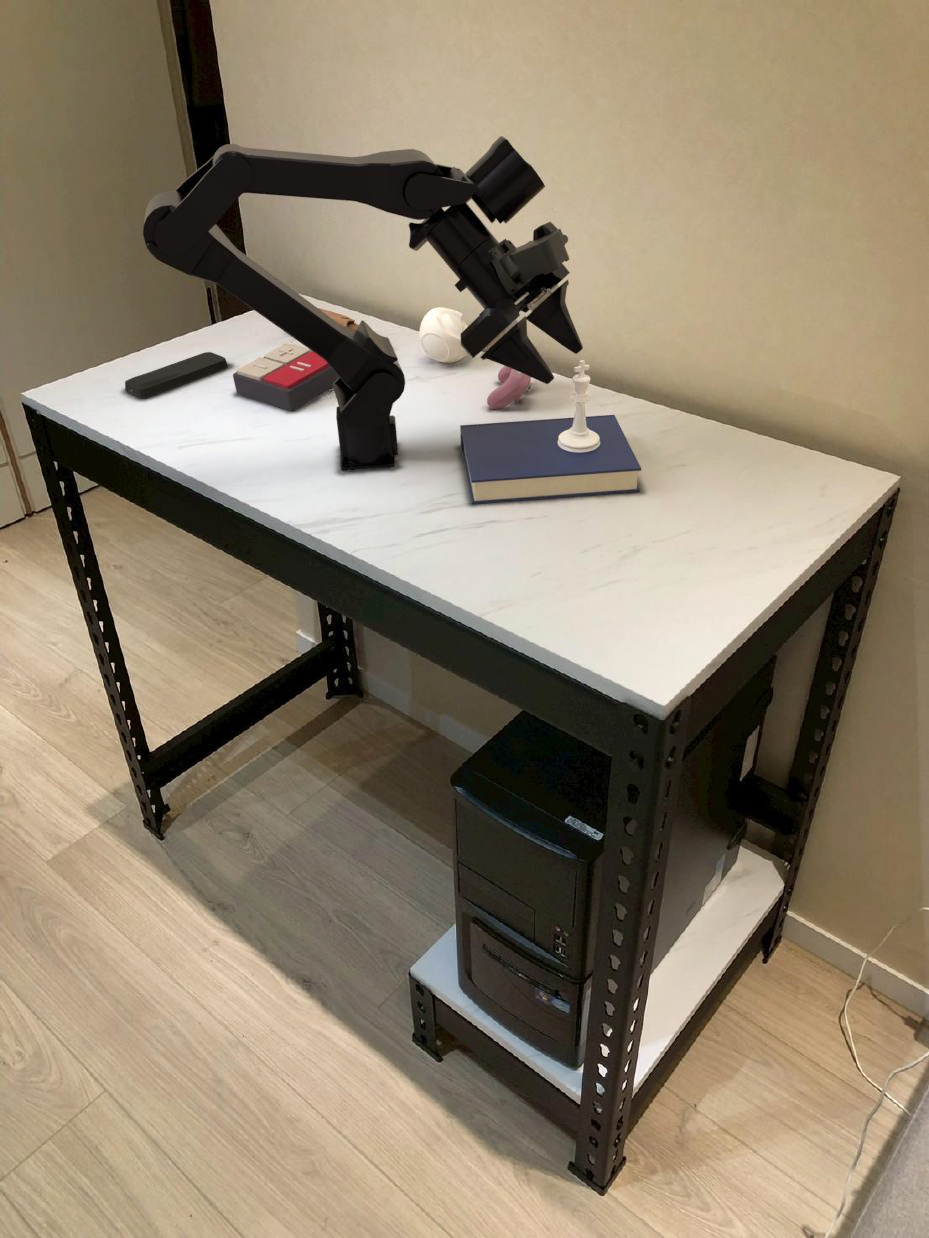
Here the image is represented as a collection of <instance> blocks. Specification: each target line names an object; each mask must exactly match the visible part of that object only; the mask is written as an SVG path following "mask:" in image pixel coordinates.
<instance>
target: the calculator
mask: <svg viewBox="0 0 929 1238" xmlns="http://www.w3.org/2000/svg"><path fill="white" fill-rule="evenodd" d="M232 377H233V383H234V387H235V391H236V394H237V395H240V396H243V397H245V398H248V399H252V400H255V401H258V402H262V403H264V404H268V405H271V406H274V407H277V408H280V409H283V410H287V411H290V412H294V411H296V410H297V409H299V408H302V407H303V406H305V405H306V404H308V403H310V402H311V401H313V400H315V399H316V398H318V397H320V396H321V395H323V394H324V393H327V392H329V390H331V389H334V388H333V383H334V382H335V381H336V379H337V378H338V377H339V376H338V375H337V374H336V372H335V371H334V370H333V369H332V368H331V366H330V365H329V364H328V363H327V362H326V361H325V360H324V359H323V358H321V357H320V356H319V355H317V354H316V353H314V352H313V351H312V350H310V349H309V348H307V347H306V346H304V345H303V344H302V343H300V342H299V341H297V340H296V339H294V340H292V341H290V342H289V343H284V344H282V345H280V346H278V347H276V348H274V349H273V350H271V351H269V352H267V353H265V354H263V357H257V358H256V359H254V360H252V361H250V362H248V363H246V364H244V365H242V366H241V367H239V368H237V369H236V372H234V373H233V374H232Z"/></svg>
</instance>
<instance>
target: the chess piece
mask: <svg viewBox="0 0 929 1238" xmlns="http://www.w3.org/2000/svg"><path fill="white" fill-rule="evenodd" d="M590 367H591V365H590V364H586V361H585V360H584V359H581V360H579V363H578V366H574V367H573V371H574V372H575V373H576V374H575V375H573V377H572V383H573V386H574V390H575V393H573V394H572V395H571V397H570V400H571V401H572V402H574V403H575V408H574V409H575V410H574V415H573V418H574V420H573V426H572V427H571V428H570V429H569V430H566V431H564V432H562V433H561V434H560V435H559V437H558V445H559V447H560V448H562V449H564V450H566V451H569V452H576V453H583V452H589V451H593V450H595V449H597V448H598V447H599V445H600V441H599V440H600V438H599V435H598V434H597V433H595V432H594V431H591V430H589V429H588V428H587V426H586V417H587V416H586V404H585V403H588V402H590V400H591V397H590V395H589V394H588V393H587V390H588V387H589V384H590V382H591V379H592V378H591V376H590V375H588V374H585V371H590ZM577 373H578V374H577Z"/></svg>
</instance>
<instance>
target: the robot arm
mask: <svg viewBox="0 0 929 1238" xmlns="http://www.w3.org/2000/svg"><path fill="white" fill-rule="evenodd" d="M545 188H546V185H545V183H544V181H543V180H542V178H541V177H540V175H539V174H538V173H537V171H536V170H535V168H534V167H533V166H532V164H530V163H529V162H528V161H526V160H525V159H524V158H523V157H522V155H521V154H520V153H519V152H518V151H517V149H515V147H514V146H513V145H512V144H511V142H510V141H509V140H508V138H506V137H504V136H501V135H500V136H499V137H498V138H496V140H495V141H494V142H493V143H492V144H491V146H490V147H489V149H488V150H487V152H486V153H484V154H483V155H482V156H481V157H480V158H479V159H478V160H477V161H476V162H475V163H474V164H473V165H472V166H471V167H470V168H469V169H468V170H467V171H465V172H464V171H463V170H462V169H461V168H459V167H455V166H448V165H444V164H440V163H439V164H438V163H435V162H434V161H433V160H432V159H431V158H430V157H429V156H428V154H427V153H425V152H423V151H421V150H419V149H415V148H407V149H404V148H403V149H397V150H395V149H394V150H386V151H379V152H375V153H370V154H366V155H361V156H343V155H334V154H333V155H331V154H321V153H309V152H297V151H285V150H274V149H265V148H253V147H243V146H240V145H238V144H236V143H228V144H224V145H222V146H220V147H218V149H216V151H215V153H214V154H213V156H212V157H210V159H208V161H206V163H204V164H203V165H202V166H200V167H199V168H198V169H196V170H195V171H193V172H192V173H191V175H189V176H188V177H187V178H185V180H183V182H181V184H179V185H178V186H177V188H175V189H174V190H169V191H162V192H160V193H158V194H156V195H154V196H153V198H152V199H150V201H149V202H148V204H147V206H146V209H145V213H144V220H143V226H142V227H143V230H142V236H143V240H144V244H145V246H146V249H147V250H148V252H149V254H150V255H152V257H154V258H155V259H156V260H157V261H159V262H160V263H162V264H165V265H166V266H168V267H171V268H172V269H174V270H177V271H180V272H181V273H183V274H185V275H188V276H190V277H193V278H196V279H199V280H202V281H206V282H209V283H213V284H216V285H217V286H219V287H220V288H222V289H224V290H225V291H226V292H227V293H229V294H231V295H232V296H233V297H235V298H236V299H238V300H239V301H241V302H242V303H243V304H245V305H246V306H248V307H249V308H251V309H252V310H253V311H254V312H256V313H258V315H260V316H262V317H263V318H265V319H266V320H268V322H270V323H272V324H273V325H274V326H276V327H277V328H279V329H280V330H282V331H283V332H284V333H286V334H287V335H289V336H290V337H291V338H293V339H294V340H297V341H299V342H300V343H302V344H303V345H304V346H306V347H307V348H309V349H310V350H312V351H313V352H314V353H316V354H317V355H319V356H320V357H321V358H323V359H324V360H325V361H326V362H327V363H328V364H329V365H330V366H331V368H332V369H333V370H334V371H335V372H336V374H337V375H338V376H339V377H338V378H337V379H336V381H335V382H334V383H333V388H332V389H333V391H334V395H335V398H336V401H337V404H338V405H337V406H336V409H335V410H336V412H335V413H336V414H335V415H336V417H335V418H336V427H337V435H338V443H339V453H340V456H339V459H340V460H339V464H340V465H339V467H340V468H339V469H340V470H341V471H343V472H344V471H346V472H347V471H349V472H350V471H361V470H374V469H389V468H394V467H395V466H396V460H395V459H396V458H395V457H397V456H398V455H399V447H398V436H397V434H398V433H397V422H396V416H394V415H391V413H392V410H393V405H394V404H395V403H396V402H397V401H398V400H399V399H400V398H401V396H402V395H403V393H404V391H405V386H406V378H405V373H404V371H403V369H402V367H401V365H400V362H399V357H398V356H397V354H396V352H395V350H394V346H393V345H392V343H391V341H390V338H389V337H387V336H383V335H380V334H379V333H377V332H376V331H375V330H374V329H372V328H371V326H370V325H369V324H368V323H367V322H366V321H365V320H361V321H359V322H360V323H359V324H358V325H359V326H358V328H357V330H355V329H352V328H348V327H345V326H343V325H341V324H339V323H337V322H336V321H335V320H333V319H332V318H330V317H329V316H328V315H326V314H325V313H324V312H322V311H321V310H320V309H321V308H320V309H318V308H319V307H317V306H315V305H314V304H313V303H312V302H310V301H309V300H308V299H306V298H305V297H303V296H302V295H301V294H299V293H298V292H296V291H295V290H294V289H292V287H290V286H289V285H287V284H286V283H285V282H284V281H282V280H280V279H279V278H277V277H276V275H273V274H272V273H271V272H269V271H268V270H266V269H265V268H264V267H263V266H261V265H260V264H258V263H257V262H256V261H254V260H253V259H252V258H251V257H250V256H248V255H246V254H245V253H244V252H242V251H241V250H239V249H238V248H237V246H235V245H234V244H233V243H232V242H231V240H230V239H229V238H228V237H227V235H225V233H224V232H223V231H222V230H221V228H220V227H219V226H218V224H217V223H218V222H219V221H220V220H221V218H223V216H224V215H225V214H226V212H227V211H228V210H229V209H230V207H231V206H232V205H233V204H234V203H235V202H236V201H237V200H238V199H239V198H240V197H241V196H242V195H243V194H256V195H257V194H258V195H267V196H268V195H270V196H281V197H295V198H309V199H321V200H335V201H346V202H347V201H348V202H356V203H359V204H364V205H367V206H369V207H372V208H375V209H378V210H380V211H382V212H385V213H389V214H393V215H396V216H399V217H404V218H408V219H411V220H416V221H421V222H418V223H417V222H409V223H408V228H409V242H408V247H409V249H411V250H413V251H415V252H418V251H419V250H420V249H421V248H423V246H424V245H426V243H429V245H430V246H431V247H432V248H433V249H434V251H435V252H436V253H437V254H438V256H439V257H440V258H441V259H442V261H443V262H445V264H446V265H447V266H448V268H449V269H450V270H451V271H452V273H453V274H454V275H455V276H456V277H457V279H458V281H457V282H456V283H455V284H454V287H455V288H456V289H457V290H458V291H459V293H462V292H463V291H465V290H466V289H467V290H468V291H469V293H470V294H471V295H472V297H474V299H475V300H476V301H477V302H478V303H479V305H480V306H481V307H482V308H483V310H482V311H481V312H480V313H479V314H478V316H477V317H476V318H475V319H474V320H473V321H472V322H471V323H470V324H468V325H467V326H468V327H467V328H466V329H465V330H464V331H463V332H462V333H461V346H462V347H463V348H464V350H465V351H466V352H467V353H468V354H467V355H468V356H469V357H470V358H471V359H472V360H473V359H474V358H475V357H477V356H478V355H479V354H480V353H482V352H483V351H484V349H487V350H486V351H485V352H484V353H482V355H481V356H480V359H481V360H482V361H485V360H489V361H491V362H494V363H496V364H499V365H501V366H503V367H504V366H507V367H510V368H512V369H514V370H516V371H519V372H521V373H523V374H525V375H528V376H530V377H531V379H535V380H536V381H538V382H540V383H543V384H545V385H548V384H550V383H551V382H552V381H553V380H554V379H555V376H554V374H553V373H552V371H551V369H550V368H549V365H548V364H547V362H546V361H545V360H544V359H543V357H542V355H541V354H540V352H539V351H538V350H537V348H536V346H535V345H534V343H533V342H532V341H531V339H530V338H529V336H528V322H529V323H531V324H532V325H534V326H535V327H536V328H538V329H539V330H541V331H542V332H543V333H545V334H546V335H547V336H549V337H550V338H552V339H553V340H554V341H555V342H557V343H558V344H559V345H560V346H562V347H564V348H566V350H568V351H570V352H572V353H573V354H574V355H575V354H576V355H577V354H578V353H580V352H581V351H582V350H583V348H584V347H583V344H582V341H581V339H580V337H579V334H578V331H577V329H576V326H575V324H574V322H573V319H572V318H571V315H570V312H569V309H568V307H567V303H566V297H567V290H568V286H569V284H570V283H569V279H566V280H565V278H566V277H567V276H568V275H569V274H570V273H571V272H570V271H569V269H567V267H566V266H565V265H564V264H563V263H564V262H568V261H569V260H570V256H569V254H568V251H567V248H566V244H567V243H568V241H569V237H568V235H566V234H564V233H563V232H562V229H561V228H558V227H557V226H556V225H555V224H553V223H552V222H551V221H547V222H545V223H543V224H540V225H538V226H537V227H536V228H535V229H534V230H533V232H532V233H533V235H532V240H529V241H527V242H526V243H524V244H521V245H519V246H518V247H516V246H515V244H514V243H513V241H511V240H509V239H507V238H504V239H503V240H501V241H500V242H499V241H498V240H497V238H496V237H495V236H494V234H493V233H492V232H491V231H490V229H488V227H487V226H486V225H485V223H483V221H482V220H481V219H480V217H479V216H478V215H477V214H476V212H475V211H474V210H473V209H472V208H471V206H470V205H469V204H468V203H469V202H470V201H472V202H473V203H474V204H475V205H476V207H477V208H478V209H479V210H480V212H481V213H482V214H483V215H484V217H486V219H487V220H488V221H489V222H490V223H491V224H494V222H496V221H497V222H498V223H499V225H501V224H502V223H504V224H505V225H506V224H508V223H509V222H510V221H511V220H512V219H513V218H514V217H515V216H516V215H517V214H518V213H520V211H521V210H523V208H525V207H526V206H527V205H528V204H529V203H530V202H531V201H532V200H533V199H534V198H535V197H536V196H537V195H539V193H541V191H543V190H544V189H545ZM443 208H446V209H443ZM422 220H423V221H422ZM563 280H565V281H564V282H563V283H561V282H562V281H563ZM560 283H561V284H560ZM559 284H560V286H559ZM529 311H530V313H529V314H528V315H527V316H526V315H525V316H524V317H522V318H521V319H520V320H519V321H518V320H517V319H518V318H519V317H520V316H521V315H520V313H521V312H523V313H525V314H526V313H527V312H529Z"/></svg>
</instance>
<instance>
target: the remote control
mask: <svg viewBox="0 0 929 1238" xmlns="http://www.w3.org/2000/svg"><path fill="white" fill-rule="evenodd" d="M228 367H229V365H228V362H227V359H226V357H224V356H222V355H220V354H217V353H214V352H212V351H206V352H202V353H199V354H197V355H194V356H190V357H188V358H185V359H182V360H180V361H177V362H174V363H171V364H169V365H168V364H167V365H165V366H162V367H160V368H157V369H154V370H152V371H149V372H146V373H143V374H139V375H136V376H133V377H131V378H128V379H127V380H125V381H124V391H125V392H126V393H127V394H130V395H132V396H135V398H138V399H147V398H149V397H152V396H155V395H157V394H160V393H163V392H166V391H168V390H171V389H174V388H177V387H179V386H182V385H184V384H187V383H189V382H193V381H195V380H198V379H201V378H203V377H206V376H209V375H211V374H214V373H216V372H219V371H222V370H225V369H227V368H228Z"/></svg>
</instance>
